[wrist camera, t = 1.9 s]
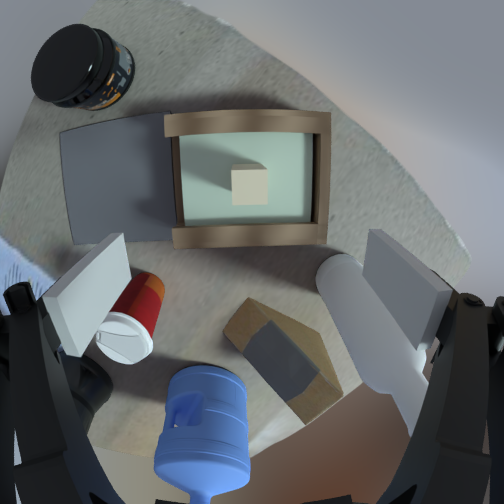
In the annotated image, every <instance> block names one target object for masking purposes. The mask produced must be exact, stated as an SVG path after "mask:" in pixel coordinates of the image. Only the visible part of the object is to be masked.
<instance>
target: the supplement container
mask: <svg viewBox="0 0 504 504" xmlns="http://www.w3.org/2000/svg"><path fill="white" fill-rule="evenodd" d="M134 75H135V62H134V58H133V56H132V54H131V52H130V51H129V50H128V49H127V48H126V47H124V46H123V45H121V44H119V43H118V42H117V41H115V40H114V39H112V38H111V37H110V36H109V34H107V33H106V32H104V31H103V30H100V29H96V28H91V27H89V26H87V25H84V24H73V25H69V26H66V27H64V28H62V29H60V30H59V31H57V32H56V33H54V34H53V35H52V36H51V37H50V38H49V39H48V40H47V41H46V42H45V43H44V45H43V46H42V47H41V49H40V50H39V52H38V54H37V56H36V58H35V61H34V63H33V67H32V72H31V83H32V88H33V90H34V93H35V94H36V95H37V96H38V97H39V98H40V99H41V100H44V101H47V102H52V103H53V104H54V105H56V106H59V107H62V108H80V109H86V110H91V111H97V110H102V109H106V108H108V107H110V106H112V105H114V104H115V103H116V102H118V101H119V100H120V99H121V98H122V97H123V96H124V95H125V94H126V92H127V91H128V89H129V88H130V86H131V84H132V81H133V78H134Z"/></svg>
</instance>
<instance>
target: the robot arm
mask: <svg viewBox="0 0 504 504" xmlns="http://www.w3.org/2000/svg"><path fill="white" fill-rule="evenodd" d="M362 276H363V277H364V278H365V280H366V281H367V282H368V284H369V285H370V286H371V288H372V289H373V290H374V292H375V293H376V294H377V296H378V297H379V298H380V300H381V301H382V303H383V304H384V305H385V307H386V308H387V310H388V311H389V312H390V314H391V315H392V317H393V318H394V319H395V321H396V322H397V324H398V325H399V327H400V328H401V329H402V331H403V332H404V334H405V335H406V337H407V338H408V340H409V341H410V343H411V344H412V346H413V347H414V349H415V350H416V351H420V350H425V349H429V348H431V346H432V343H433V341H434V339H435V337H437V338H438V340H439V341H440V344H439V346H438V348H437V350H436V352H435V354H434V356H433V359H432V360H431V363H433V362H434V364H433V368H432V372H431V377H430V380H429V384H428V388H427V391H426V395H425V398H424V401H423V405H422V408H421V411H420V414H419V417H418V420H417V423H416V425H415V428H414V431H413V434H412V436H411V439H410V442H409V444H408V447H407V449H406V451H405V454H404V456H403V458H402V460H401V463H400V465H399V467H398V469H397V471H396V474H395V476H394V478H393V480H392V482H391V484H390V485H389V487H388V488H387V490H386V491H385V492H384V493H383V495H382V496H381V497H380V499H379V500H378V501H377V503H376V504H482V503H483V500H484V496H485V492H486V488H487V484H488V480H489V475H490V504H504V348H503V350H502V352H501V348H502V346H503V344H504V297H502V296H500V297H497V299H496V301H495V304H494V306H493V307H486V306H485V304H484V302H483V301H482V300H481V299H480V298H478V297H477V296H475V295H473V294H469V293H461V294H459V293H458V292H457V291H456V290H455V289H454V288H452V287H451V286H450V285H449V284H448V283H447V282H445V280H444V279H443V278H441V277H440V276H439V275H438V274H437V273H436V272H435V271H433V270H431V269H429V268H428V267H427V266H426V265H425V264H423V263H422V262H421V261H420V260H419V259H417V258H416V257H415V256H414V255H413V254H412V253H410V252H409V251H408V250H407V249H405V248H404V247H403V246H402V245H401V244H399V243H398V242H397V241H396V240H394V239H393V238H392V237H390V236H389V235H388V234H387V233H385V232H384V231H383V230H381V229H369V233H368V241H367V247H366V254H365V260H364V266H363V272H362ZM131 279H132V278H131V273H130V269H129V263H128V258H127V253H126V247H125V241H124V235H123V233H111V234H109V235H108V236H107V237H106V238H105V239H103V240H102V241H101V242H100V243H99V244H98V245H96V246H95V247H94V248H93V249H92V250H91V251H90V252H88V253H87V254H86V255H85V256H84V257H83V258H82V259H81V260H79V261H78V262H77V263H76V264H75V265H74V266H73V267H72V268H71V269H70V270H69V271H67V272H66V273H65V274H64V275H63V276H62V277H60V278H59V279H58V280H57V281H56V282H55V283H54V285H52V286H51V287H50V288H49V289H48V290H47V291H46V292H45V293H44V294H43V295H42V296H41V297H40V298H39V299H38V300H37V301H36V299H35V296H34V293H33V291H32V288H31V285H30V283H29V282H20V283H16V284H14V285H12V286H10V287H9V288H8V289H7V290H6V291H5V292H4V294H3V296H4V299H5V301H6V304H7V306H8V309H9V311H10V313H11V315H6V316H3V315H2V313H1V311H0V504H17V501H16V491H15V484H16V487H17V491H18V494H19V497H20V501H21V504H125V503H124V501H123V500H122V499H121V498H120V497H119V496H118V494H117V493H116V492H115V490H114V489H113V487H112V485H111V483H110V482H109V480H108V478H107V476H106V474H105V472H104V471H103V469H102V467H101V465H100V463H99V461H98V459H97V457H96V454H95V453H94V450H93V448H92V446H91V444H90V441H89V439H88V437H87V434H88V431H89V428H90V425H91V422H92V420H93V417H94V415H95V413H96V412H97V411H98V410H99V408H100V407H101V406H102V405H103V404H104V403H105V402H106V401H108V399H109V398H110V395H111V393H112V390H113V385H112V382H111V380H110V378H109V376H108V375H107V373H106V372H105V371H104V370H103V369H102V368H101V367H100V366H99V365H98V364H96V363H95V362H94V361H92V360H91V359H89V358H88V357H86V356H84V355H82V354H83V353H84V351H85V349H86V348H87V346H88V344H89V343H90V341H91V339H92V338H93V336H94V335H95V333H96V331H97V330H98V328H99V327H100V325H101V323H102V322H103V320H104V319H105V317H106V316H107V314H108V313H109V311H110V310H111V308H112V307H113V305H114V303H115V302H116V300H117V299H118V298H119V296H120V295H121V293H122V292H123V290H124V289H125V287H126V286H127V284H128V283H129V281H130V280H131ZM60 344H62V346H63V349H64V351H62V352H60V353H58V351H57V348H58V347H59V346H60ZM486 419H487V426H488V436H489V450H490V455H489V454H483V453H482V447H483V441H484V435H485V426H486ZM15 431H16V436H17V441H18V446H19V451H20V456H21V461H22V463H21V464H19V465H15V466H14V434H15ZM155 504H186V503H178V502H171V501H163V500H158V499H156V501H155ZM302 504H368V503H358V502H357V503H356V502H352V499H351V495H346V496H341V497H336V498H331V499H325V500H319V501H313V502H306V503H302Z"/></svg>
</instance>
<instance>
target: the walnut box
mask: <svg viewBox="0 0 504 504" xmlns="http://www.w3.org/2000/svg"><path fill="white" fill-rule="evenodd" d="M164 128H165V137H172V152H173V170H174V185H175V198H176V210H177V221H178V223H177V225H176V227H172V237H173V245H174V249H190V248H219V247H249V246H281V245H314V244H326V243H327V229H328V214H329V196H330V170H331V113H330V112H318V111H303V110H277V109H242V110H216V111H201V112H189V113H178V114H169V115H164ZM236 132H293V133H313V158H312V199H311V222H296V223H253V224H223V225H198V226H185V218H184V206H183V193H182V178H181V161H180V138H179V136H185V135H198V134H213V133H236Z"/></svg>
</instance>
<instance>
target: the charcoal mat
mask: <svg viewBox="0 0 504 504" xmlns="http://www.w3.org/2000/svg"><path fill="white" fill-rule="evenodd" d="M169 114H171V111H167V112H159V113H152V114H145V115H139V116H133V117H127V118H121V119H116V120H111V121H106V122H102V123H97V124H93V125H88V126H84V127H80V128H76V129H72V130H69V131H65V132H62V133H60V143H61V158H62V170H63V179H64V188H65V195H66V202H67V209H68V215H69V220H70V226H71V231H72V236H73V241H74V245H80V244H98V243H100V242H101V241H102V240H103V239H105V238H106V237H107V236H108V235H109V234H111V233H123V235H124V241H125V242H138V241H160V240H173V237H172V227H176V225H177V215H176V204H175V192H174V178H173V162H172V141H171V137H165V128H164V115H169Z"/></svg>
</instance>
